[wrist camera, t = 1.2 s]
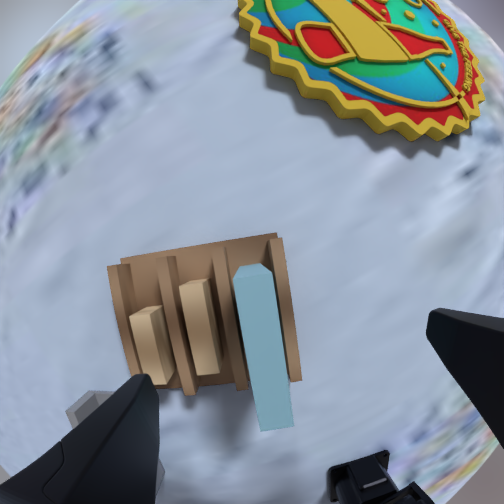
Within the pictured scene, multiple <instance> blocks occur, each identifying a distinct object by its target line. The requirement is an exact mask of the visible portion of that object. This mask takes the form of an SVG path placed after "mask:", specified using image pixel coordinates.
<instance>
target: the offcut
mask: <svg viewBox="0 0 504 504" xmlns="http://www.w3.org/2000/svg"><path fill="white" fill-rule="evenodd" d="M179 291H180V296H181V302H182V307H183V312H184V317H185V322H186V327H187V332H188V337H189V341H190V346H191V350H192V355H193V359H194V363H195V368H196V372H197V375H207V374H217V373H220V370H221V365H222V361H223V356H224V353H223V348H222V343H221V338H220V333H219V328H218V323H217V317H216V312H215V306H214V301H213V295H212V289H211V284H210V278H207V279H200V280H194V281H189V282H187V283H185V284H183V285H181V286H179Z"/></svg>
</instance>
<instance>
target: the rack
mask: <svg viewBox="0 0 504 504" xmlns="http://www.w3.org/2000/svg"><path fill="white" fill-rule="evenodd" d="M120 260H121V264H118V265H112V266H107V271H108V277H109V283H110V289H111V294H112V299H113V305H114V309H115V314H116V319H117V323H118V328H119V332H120V336H121V340H122V344H123V348H124V352H125V356H126V359H127V363H128V367H129V370H130V373H131V377H132V376H133V375H135V374H143V370H142V367H141V363H140V359H139V356H138V352H137V348H136V344H135V340H134V336H133V331H132V327H131V323H130V318H129V316H131V315H133V314H135V313H136V312H138V311H140V310H142V309H144V308H146V307H151V306H159V305H164V310H165V315H166V320H167V325H168V330H169V334H170V339H171V343H172V347H173V352H174V356H175V360H176V364H177V368H176V370H175V371H174V373H173V375H172V376H171V378H170V379H169V381H168V383H167V384H161V385H154V386H155V389H167V388H183V390H184V394H185V396H188V395H196V392H197V390H198V387H199V386H209V385H219V384H228V383H235V384H236V388H237V391H240V390H248V381H251V380H250V374H249V369H248V364H247V358H246V353H245V347H244V342H243V336H242V330H241V325H240V319H239V313H238V307H237V302H236V296H235V290H234V284H233V278H234V276H235V274H236V272H237V270H238V268H239V267H240V266H245V265H252V264H258V263H261V264H262V265H263V266H264V267H266V268H267V269H268V270H269V271H271V272H272V275H273V282H274V288H275V295H276V301H277V308H278V315H279V321H280V328H281V335H282V342H283V349H284V356H285V363H286V370H287V375H289V378H290V381H291V382H296V381H301V380H302V374H301V366H300V358H299V350H298V343H297V335H296V328H295V320H294V313H293V306H292V299H291V292H290V285H289V279H288V272H287V266H286V259H285V253H284V246H283V240H282V238H278V237H277V233H270V234H264V235H258V236H251V237H245V238H239V239H233V240H226V241H220V242H214V243H208V244H202V245H196V246H190V247H184V248H178V249H172V250H166V251H161V252H155V253H149V254H143V255H138V256H132V257H126V258H121V259H120ZM207 278H210V284H211V289H212V295H213V301H214V306H215V312H216V317H217V323H218V328H219V333H220V338H221V343H222V348H223V353H224V356H223V361H222V365H221V370H220V373H217V374H207V375H197V372H196V368H195V363H194V359H193V355H192V350H191V346H190V341H189V337H188V332H187V327H186V322H185V317H184V312H183V307H182V302H181V296H180V291H179V286H181V285H183V284H185V283H187V282H189V281H194V280H200V279H207Z"/></svg>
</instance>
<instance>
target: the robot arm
mask: <svg viewBox="0 0 504 504" xmlns="http://www.w3.org/2000/svg"><path fill="white" fill-rule="evenodd" d="M426 336H427V339H428V340H429V342H430V343H431V345H432V346H433V348H434V350H435V351H436V353H437V354H438V356H439V357H440V359H441V361H442V362H443V364H444V365H445V367H446V368H447V370H448V371H449V372H450V374H451V375H452V376H453V378H454V379H455V380H456V382H457V383H458V384H459V386H460V387H461V388H462V390H463V391H464V392H465V394H466V395H467V396H468V398H469V399H470V400H471V402H472V403H473V405H474V406H475V407H476V409H477V410H478V412H479V413H480V414H481V416H482V417H483V419H484V420H485V422H486V423H487V425H488V426H489V428H490V429H491V431H492V432H493V434H494V435H495V437H496V438H497V440H498V441H499V443H500V444H501V446H502V447H503V449H504V318H499V317H492V316H486V315H480V314H474V313H468V312H462V311H456V310H450V309H445V308H437V309H435V310H432V311H431V312H430V313H429V316H428V323H427V329H426ZM159 444H160V436H159V397H158V393H157V391H156V389H155V386H154V384H153V382H152V379H151V377H150V375H149V374H147V373H143V374H135V375H133V376H132V377H131V378H130V379H129V380H128V381H127V382H126V383H124V384H123V385H122V386H121V387H120V388H119V389H118V390H117V391H116V392H114V393H113V394H112V395H111V396H110V397H109V398H108V399H107V400H105V401H104V402H103V403H102V404H101V405H100V406H99V407H98V408H96V409H95V410H94V411H93V412H92V413H91V414H90V415H89V416H87V417H86V418H85V419H84V420H83V421H82V422H81V423H79V424H78V425H77V426H76V427H75V428H74V429H73V430H71V431H70V432H69V433H68V434H67V435H66V436H65V437H63V438H62V439H61V441H59V442H58V443H56V444H55V445H54V446H53V447H52V448H51V449H49V450H48V451H47V452H46V453H45V454H43V455H42V456H41V457H40V458H38V459H37V460H36V461H34V462H33V463H32V464H30V465H29V466H27V467H26V468H24V469H23V470H22V471H20V472H19V473H17V474H16V475H14V476H13V477H11V478H10V479H8V480H7V481H5V482H4V483H2V484H1V485H0V504H155V495H156V480H157V467H158V456H159ZM384 454H385V455H384ZM389 455H390V453H389V451H388V450H384V451H381V452H378V453H375V454H373V455H370V456H367V457H364V458H360V459H357V460H354V461H351V462H347V463H344V464H340V465H336V466H333V467H331V468H330V469H329V484H330V501H331V502H337V501H339V503H340V504H435V503H434V502H433V501H432V499H431V498H430V497H429V496H428V495H427V494H426V493H425V492H424V491H423V490H422V489H421V488H420V487H419V486H418V485H417V484H416V483H415V482H414V481H413V482H412V483H410V484H409V485H408V486H407V487H405V488H403V489H401V490H400V491H399V489H398V488H397V486H396V485H395V483H394V482H393V480H392V479H391V477H390V476H389V474H388V473H387V469H388V462H389Z"/></svg>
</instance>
